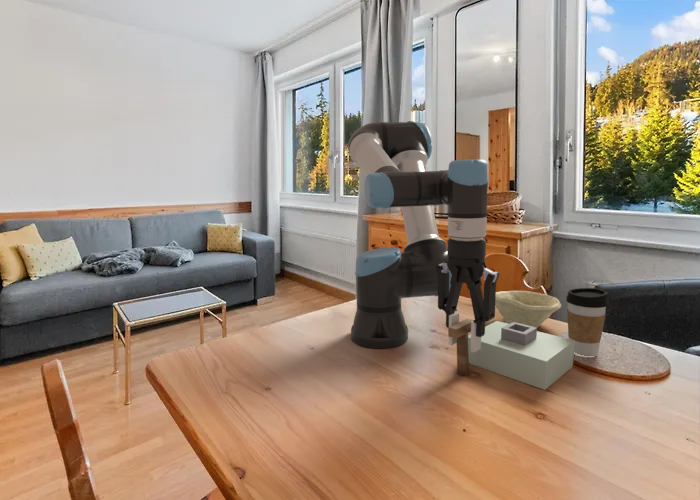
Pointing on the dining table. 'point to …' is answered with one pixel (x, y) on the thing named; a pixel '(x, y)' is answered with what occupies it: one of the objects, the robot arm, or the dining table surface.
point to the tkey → (461, 344)
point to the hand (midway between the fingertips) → (464, 346)
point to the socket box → (523, 353)
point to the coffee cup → (586, 318)
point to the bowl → (525, 307)
